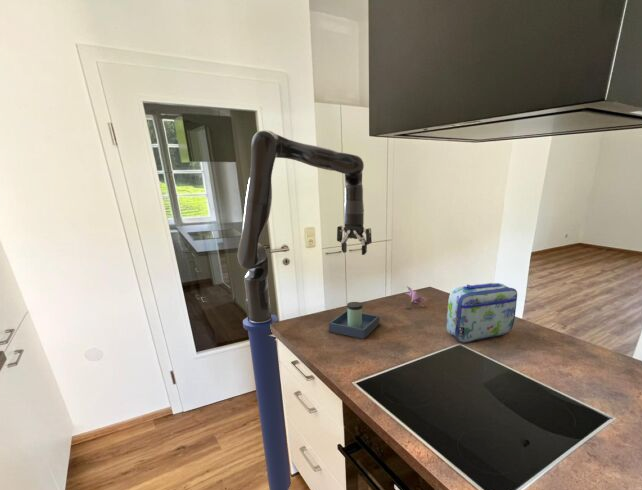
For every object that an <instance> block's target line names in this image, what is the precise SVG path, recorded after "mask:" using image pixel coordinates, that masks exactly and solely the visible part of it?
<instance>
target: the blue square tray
mask: <svg viewBox="0 0 642 490" xmlns="http://www.w3.org/2000/svg"><path fill="white" fill-rule="evenodd" d="M379 324H380V315H375V314H371V313H366V312H365V313H364V312H362V327H361V328H355V327H350V326H348V311H347V309H346V310H344V311H343V312H342V313H341V314H339V315H338V316H337V317H335V318H334V319H332V320H331V321H330V322H328V329H329V330H328V331H329V333H334V334H339V335H343V336H348V337H353V338H356V339H357V338H358V339H362V340H364V339H366V338H367V337H368V336H369V335H370V334H371V333H372V332H373V331H374V330H375V329H376V328H377V327H378V326H379Z"/></svg>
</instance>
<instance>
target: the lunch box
mask: <svg viewBox="0 0 642 490" xmlns="http://www.w3.org/2000/svg"><path fill="white" fill-rule="evenodd" d="M447 301H448V302H447V315H446V331H447V333H449V334H450V335H453V336H454V337H455V338H456V340H457V341H458V342H459V343H463V344H464V343H465V344H467V343H469V342H473V341H474V342H475V341H479V340H483V339H487V338H493V337H500V336H505V335H507V334H509V333H510V332H511V331H512V329H513V327H514V323H515V318H516V312H517V311H516V310H517V301H518V291H517V289H516V288H514V287H509V286H507V285H505V284H503V283H501V282H489V283H486V282H485V283H477V284H466V285H464V286H463V285H462V286H459V287H456V288H454V289H453V290H452V291H451V292H450V294H449V296H448V300H447Z"/></svg>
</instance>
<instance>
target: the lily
mask: <svg viewBox="0 0 642 490" xmlns="http://www.w3.org/2000/svg"><path fill="white" fill-rule="evenodd" d="M406 288H407V290H408V292H406V293H405V295H407V296H409V297H410V298H411V301H410V302H409V304H408V307H407V308H408V309H410V306H411V304H412V302H414V303H415V304H417V303H418V304H420V305H421V306H422V307H423V308H424V304H423V302H428V300H427V299H426V298H424V297H423V296H422V295H419V293H418V291H416V290H413V289H412V288H411V287H409V286H408V285H406Z"/></svg>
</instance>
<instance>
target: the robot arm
mask: <svg viewBox="0 0 642 490" xmlns="http://www.w3.org/2000/svg"><path fill="white" fill-rule="evenodd" d="M250 148H251V149H250V150H251V152H250V153H251V155H250V172H249V173H250V174H249V178H248V184H247V189H246V196H245V203H244V213H243V220H242V221H243V222H242V230H241V235H240V240H239V244H238V248H237V261H238V264H239V265H240V267H241V268H242V269H245V270H247V272H246V274H245V276H244V279H243V280H244V289H245V295H246V296H245V297H246V299H245V300H244V301H245V306H244V311H245V313H246V318H248V321H250V322H251V323H253V324H264V323H267V322H270V321H271V320H272V317H271V314H272V311H271V300H270V299H271V298H270V292H269V282H268V278H269V273H270V271H269V270H270V269H269V257H268V252H267V250H266V248H265V246H264V245H263V244H261V243H260V242H259V241H260V237H261V234H262V233H263V231H264V229H265V227H266V225H267V223H268V221H269V218H270V215H271V209H272V202H273V201H272V200H273V186H272V184H273V183H272V177H273V176H272V175H273V170H274V165H275V162H276V159H286V160H287V159H288V160H293V161H296V162H300V163H303V164H305V165H308V166H311V167H314V168H317V169H322V170H326V171H330V172H331V171H332V172H338V173H339V174H344V206H343V208H344V209H343V214H344V215H343V216H344V217H343V218H344V219H343V222H344V226H343V225H339V226H337V227H336V241H337V242H338V243H341V252H342V253H343V254H344V253H347V251H348V250H347V249H348V246H347V244H348V243H347V241H348V240H349V239H354V240H358V242H360V244H361V256H364V255H366V254H367V252H368V246H369V245H370V244H372V239H373V238H372V228H371V227H368V228H365V227H364V223H365V221H364V220H365V219H364V218H365V217H364V215H365V206H364V187H363V170H364V169H365V168H364V167H365V163H364V161H363V159H362V158H361V157H360V156H359V155H355V154H351V153H346V152H342V151H341V152H339V151H337V150H334V149H331V148H326V147H322V146H317V145H312V144H307V143H303V142H298V141H296V140H292V139H289V138H287V137H284V136H282V135H279V134H277V133H275V132H273V131H271V130H268V129H264V130H259V131H257V132H256V133H255V134H254V135H253V136H252V138H251V147H250ZM344 232H345V234H343V233H344ZM363 233H364V234H363ZM364 235H365V236H364Z"/></svg>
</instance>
